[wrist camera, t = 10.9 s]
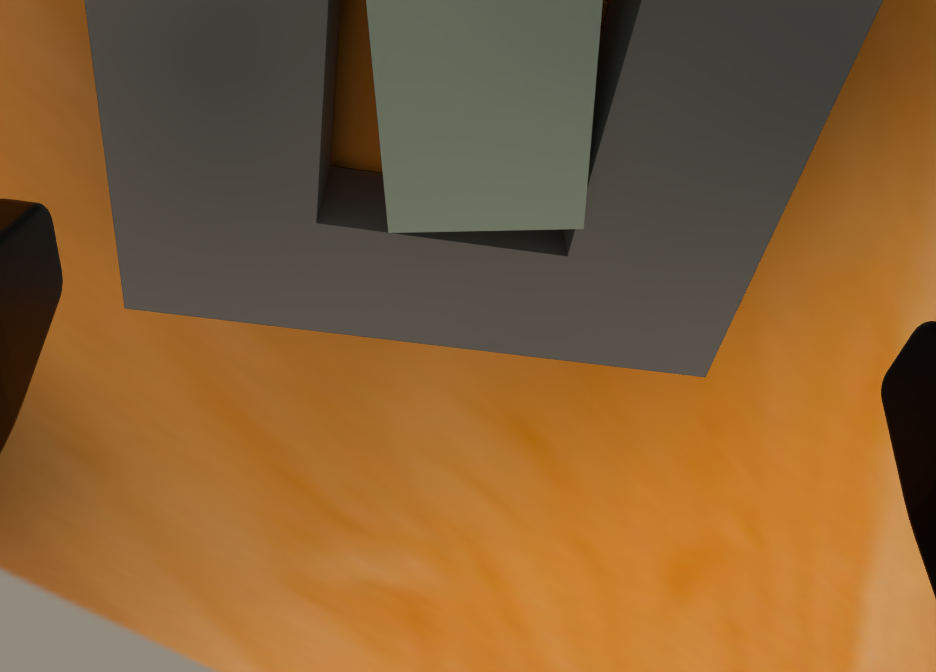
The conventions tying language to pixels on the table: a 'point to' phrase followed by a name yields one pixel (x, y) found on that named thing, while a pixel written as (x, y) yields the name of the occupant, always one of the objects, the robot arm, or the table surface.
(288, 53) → the socket board
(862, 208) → the table surface
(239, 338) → the table surface
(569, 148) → the key block
